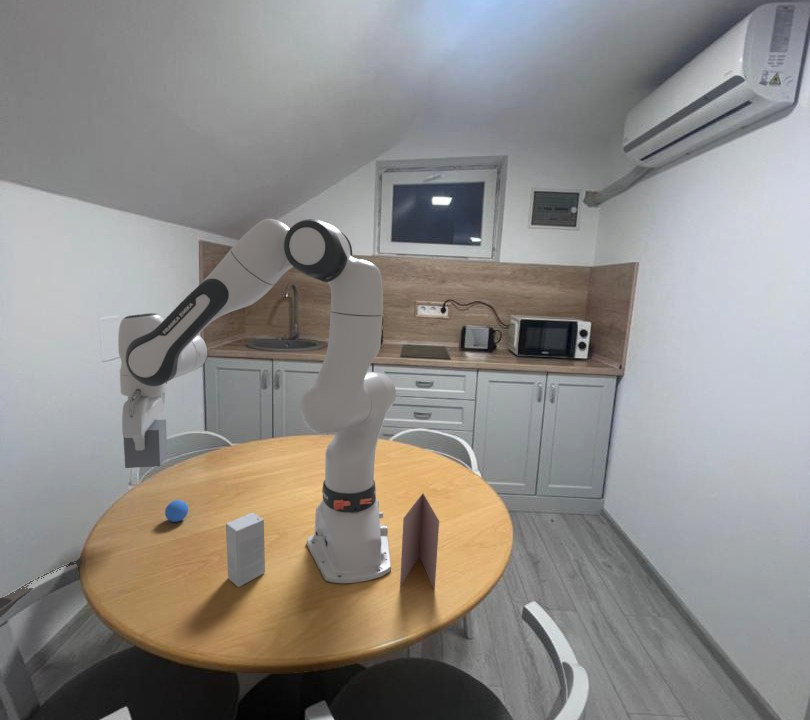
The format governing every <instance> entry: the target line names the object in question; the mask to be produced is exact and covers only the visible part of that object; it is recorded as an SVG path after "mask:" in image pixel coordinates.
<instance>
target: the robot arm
mask: <svg viewBox="0 0 810 720" xmlns="http://www.w3.org/2000/svg"><path fill="white" fill-rule="evenodd" d="M293 268H294V269H295V270H297V271H298V272H299V273H301V274H304V275H306V276H308V277H311V278H313V279H316V280H318V281H321V282H323V283H327V284H328V286H329V287H330V294H331V295H330V297H331V298H330V299H331V300H330V318H329V332H328V342H327V349H326V353H325V356H324V359H323V363H322V365H321V367H320V370H319V372H318V374H317V376H316V378H315V380H314V381H313V383H312V384H311V386H309V388H307V390H306V391H305V392H304V394H303V395H302V398H301V400H300V413H301V414H300V415H301V417H302V420H303V422H304V424H305V425H306V426H307V427H308V429H310V430H311V431H312V432H314V433H316V434H330V433H331V434H333V433H335V435H334V436H333V438H332V439H331V441H330V442H329V443H328V445H327V448H326V449H325V453H324V454H325V455H324V456H325V460H324V461H325V463H324V465H325V466H324V480H323V483H322V488H321V493H322V501H321V502H320V503H319V504H318V505H317V506H316V508H315V516H314V518H315V519H314V533H313V534H311V535H309V536H308V537H307V539H306V545H307V547H308V549H309V551H310V554H311V555H312V557H313V559H314V561H315V563H316V565H317V567H318V569H319V571H320V573H321V575H322V576H323V579H324V581H326V582H329V583H335V584H353V583H360V582H367V581H370V580H375V579H378V578H380V577H383V576H384V575H387V574H388V573H390V572H391V570H392V564H391V555H390V547H389V546H390V545H389V539H388V537H389V536H388V533H389V531H388V525H383V524H382V523H380V521H381V520H380V519H384V512H383V511H379V510H380V500H378V499H377V496H376V495H377V492H376V491H377V488H376V482H375V479H374V476H375V475H374V474H375V461H376V451H377V445H378V440H379V438H380V435H381V431H382V428H383V425H384V422H385V420H386V417H387V414H388V413H389V411H390V410H391V408H392V407H393V406H394V403H395V401H396V397H397V392H396V387H395V383H394V382H393V380H392V379H391V378H390V376H388V375H387V374H385V373H382V372H376V371H369V368H370V366H371V365H372V363H373V361H374V360H375V359H376V357H377V356H378V355H379V352H380V350H381V345H382V329H383V317H384V316H383V315H384V288H383V279H382V273H381V271H380V269H379V267H378V266H377V265H376V264H375V263H373V262H372V261H371V262H370V261H369V260H366V259H360V258H355V257H354V256H353V248H352V244H351V242H350V240H349V238H348V237H347V236H346V234H345V233H343V232H342V231H340V229H339V228H338V227H336V226H335V225H333V224H331V223H328V222H325V221H322V220H320V219H316V218H307V219H303V220H299V221H298V222H296V223H294V224H293V225H292V226H291V227H289V226H288V225H287V224H285V223H283V221H280V220H277V219H274V218H265V219H262V220H260V221H259V222H257V223H256V224H255V225H254V226H252V228H250V229H249V230H248V231H246V233H244V234H243V236H241V238H240V239H238V241H237V242H236V243H235V244H234V245H233V246H232V247H231V248H230V250H229V251H228V252H227V253H226V255H225V256H224V257H223V258H222V259H221V260H220V262H219V263H218V264H217V265H216V266H215V267H214V269H213V270H212V271H211V272H210V273H209V274H208V275H207V276H206V277H205V278H204V279H203V280H202V282H201V283H200V284H198V286H197V287H195V289H194V290H192V291H191V292H190V293H189V294H188V295H187V296H186V297H185V298H184V299H183V300H182V301H181V302H180V303H179V304H178V306H176V307H175V308H174V309H173V311H171V313H170V314H169V315H168V316H166V317H165V318H163V316H162V315H160V314H159V313H155V312H150V313H143V314H132V315H127V316H125V317H123V318H122V319H121V321H120V323H119V328H118V334H117V335H118V338H117V341H118V345H117V347H118V355H119V358H120V362H121V363H120V364H121V365H120V368H119V381H120V382H119V384H120V394H121V395H122V396H124V397H127V400H126V401H125V402H124V403H123V407H122V419H121V421H122V423H121V424H122V425H121V426H122V429H121V430H122V435H123V436H124V437H125V438H133V440H134V442H135V449H136V450H144V449H145V447H146V440H145V438H144V435H145V432H146V431H147V430H148V428H149V427H150V426H151V425H152V423H153V422H154V421H155V420H158V417H159V416H160V415H161V413H162V412H163V411H164V407H165V399H166V397H165V396H166V391H167V384H168V382H169V381H171V380H174V379H176V378H178V377H181V376H184V375H187V374H189V373H191V372H194V371H196V370H198V369H200V368H201V367H203V365H205V363H206V361H207V360H208V356H209V355H208V354H209V353H208V346H207V343H206V342H205V339H204V338H203V337H202V336H201V335H200V334H201V332H203V331H204V330H205V328H206V327H207V326H209V325H210V324H211V323H212V322H214V321H215V320H217V319H219V318H220V317H222V316H225V315H226V314H230V313H231V312H235V311H237V310H240V309H241V310H242V309H243V308H247V307H250V306H252V305H255V303H257V302H258V301H259V300H260V299H262V298H263V297H264V296H265V295H266V294H267V293H268V292H269V291H270V290H271V289H273V287H274V286H275V285H276V284H277V282H279V280H280V279H281V278H282V277H283V275H284V274H286V273H287V272H289V270H291V269H293ZM124 437H123V438H124Z"/></svg>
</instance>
